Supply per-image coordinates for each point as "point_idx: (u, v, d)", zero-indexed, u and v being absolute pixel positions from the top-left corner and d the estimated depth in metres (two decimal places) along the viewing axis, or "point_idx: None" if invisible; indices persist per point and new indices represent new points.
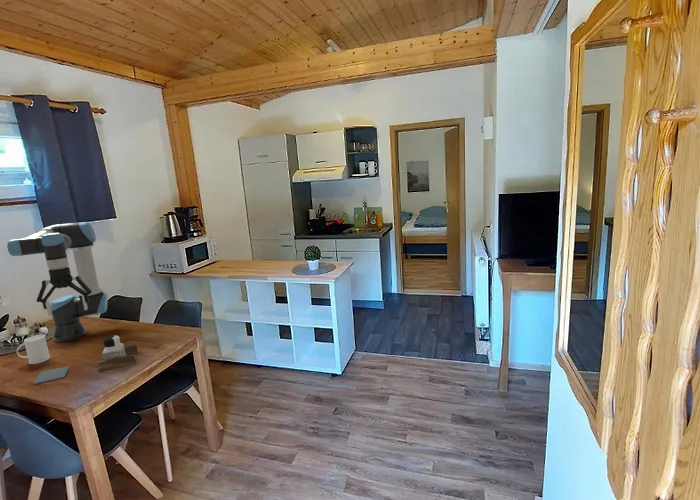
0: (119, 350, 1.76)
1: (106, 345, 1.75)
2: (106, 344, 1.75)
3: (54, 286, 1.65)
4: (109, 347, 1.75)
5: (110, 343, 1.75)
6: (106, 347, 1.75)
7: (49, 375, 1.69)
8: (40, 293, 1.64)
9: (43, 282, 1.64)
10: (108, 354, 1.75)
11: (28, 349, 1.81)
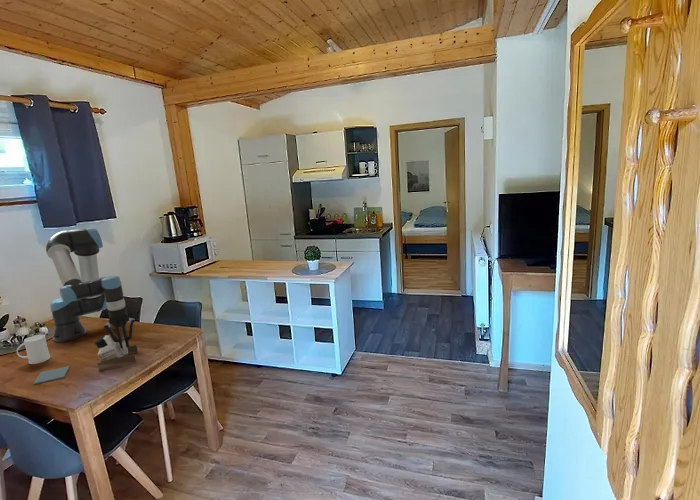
0: (113, 348, 1.75)
1: (99, 346, 1.74)
2: (98, 345, 1.74)
3: (116, 326, 1.77)
4: (102, 347, 1.74)
5: (102, 344, 1.74)
6: (99, 348, 1.74)
7: (49, 375, 1.69)
8: (112, 335, 1.77)
9: (106, 326, 1.76)
10: (104, 354, 1.74)
11: (28, 349, 1.81)
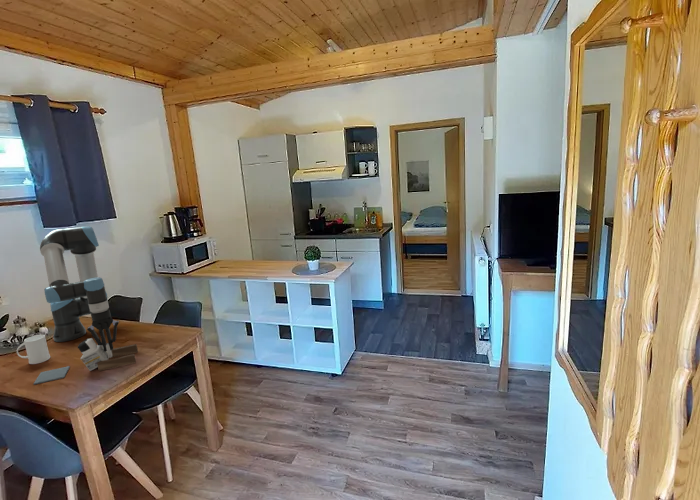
0: (96, 351, 1.72)
1: (81, 350, 1.71)
2: (81, 349, 1.71)
3: (100, 329, 1.74)
4: (85, 351, 1.71)
5: (84, 347, 1.70)
6: (82, 352, 1.71)
7: (49, 375, 1.69)
8: (95, 338, 1.74)
9: (88, 329, 1.73)
10: (87, 358, 1.71)
11: (28, 349, 1.81)
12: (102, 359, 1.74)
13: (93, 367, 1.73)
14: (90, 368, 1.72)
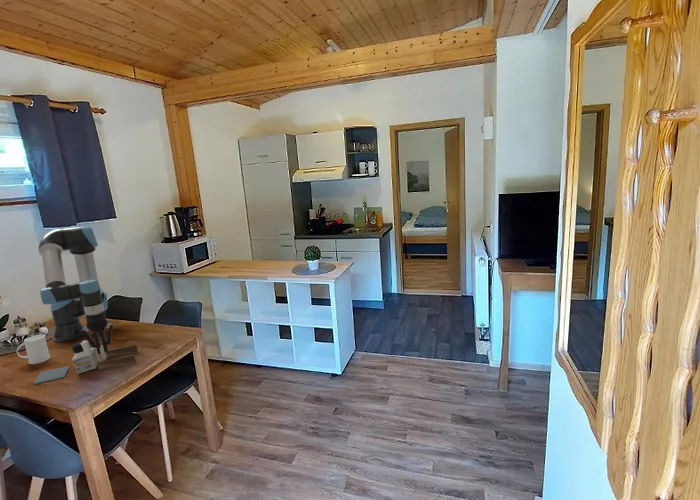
0: (89, 355, 1.71)
1: (75, 351, 1.70)
2: (74, 350, 1.70)
3: (94, 331, 1.73)
4: (78, 353, 1.70)
5: (78, 349, 1.69)
6: (75, 353, 1.70)
7: (49, 375, 1.69)
8: (89, 340, 1.74)
9: (83, 331, 1.72)
10: (78, 360, 1.70)
11: (28, 349, 1.81)
12: (93, 364, 1.72)
13: (82, 370, 1.71)
14: (79, 371, 1.71)
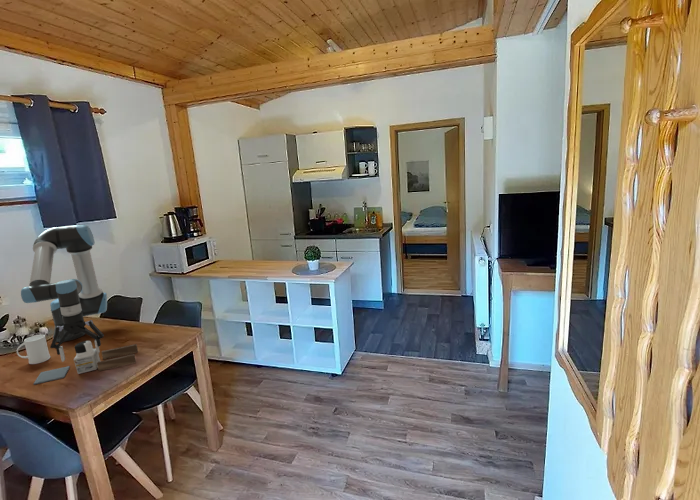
0: (91, 356, 1.71)
1: (77, 351, 1.70)
2: (77, 350, 1.70)
3: (67, 332, 1.69)
4: (80, 353, 1.70)
5: (80, 349, 1.70)
6: (77, 353, 1.70)
7: (49, 375, 1.69)
8: (54, 339, 1.67)
9: (57, 328, 1.67)
10: (80, 361, 1.70)
11: (28, 349, 1.81)
12: (94, 365, 1.72)
13: (82, 371, 1.71)
14: (79, 371, 1.71)
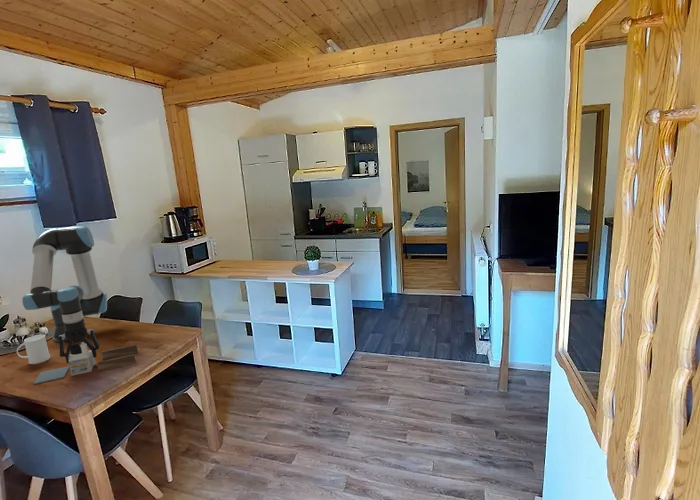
0: (86, 357, 1.71)
1: (72, 352, 1.69)
2: (72, 351, 1.69)
3: (71, 339, 1.70)
4: (76, 354, 1.69)
5: (76, 351, 1.69)
6: (72, 354, 1.69)
7: (49, 375, 1.69)
8: (60, 348, 1.69)
9: (59, 338, 1.68)
10: (75, 362, 1.69)
11: (28, 349, 1.81)
12: (89, 367, 1.72)
13: (76, 373, 1.70)
14: (73, 373, 1.69)
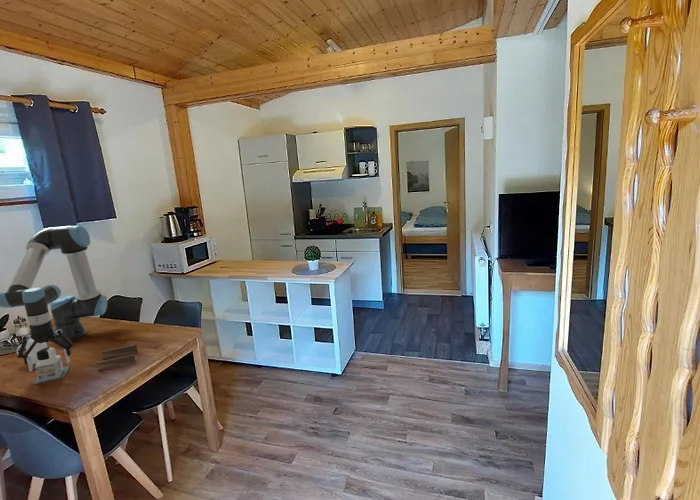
0: (54, 363, 1.66)
1: (39, 358, 1.64)
2: (39, 357, 1.64)
3: (35, 341, 1.64)
4: (43, 360, 1.64)
5: (43, 356, 1.64)
6: (39, 360, 1.64)
7: None
8: (21, 349, 1.63)
9: (24, 338, 1.63)
10: (42, 368, 1.64)
11: None
12: (57, 373, 1.67)
13: (44, 379, 1.65)
14: (40, 379, 1.64)
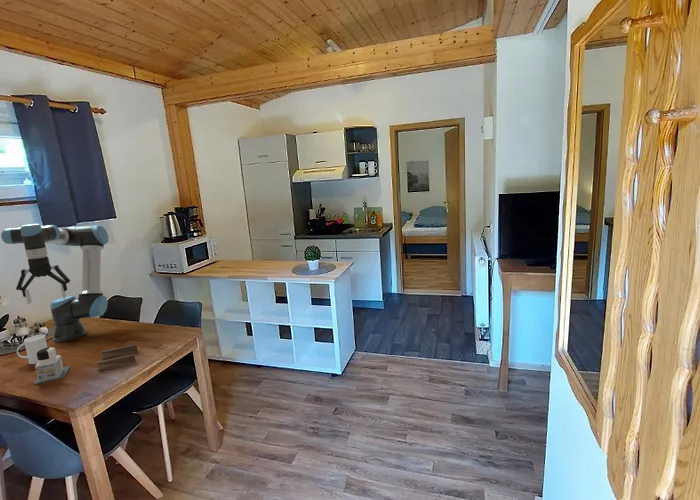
0: (54, 363, 1.66)
1: (39, 358, 1.64)
2: (39, 357, 1.64)
3: (33, 275, 1.73)
4: (43, 360, 1.64)
5: (43, 356, 1.64)
6: (39, 360, 1.64)
7: None
8: (19, 281, 1.72)
9: (22, 271, 1.71)
10: (42, 368, 1.64)
11: (28, 349, 1.81)
12: (57, 373, 1.67)
13: (44, 379, 1.65)
14: (40, 379, 1.64)
